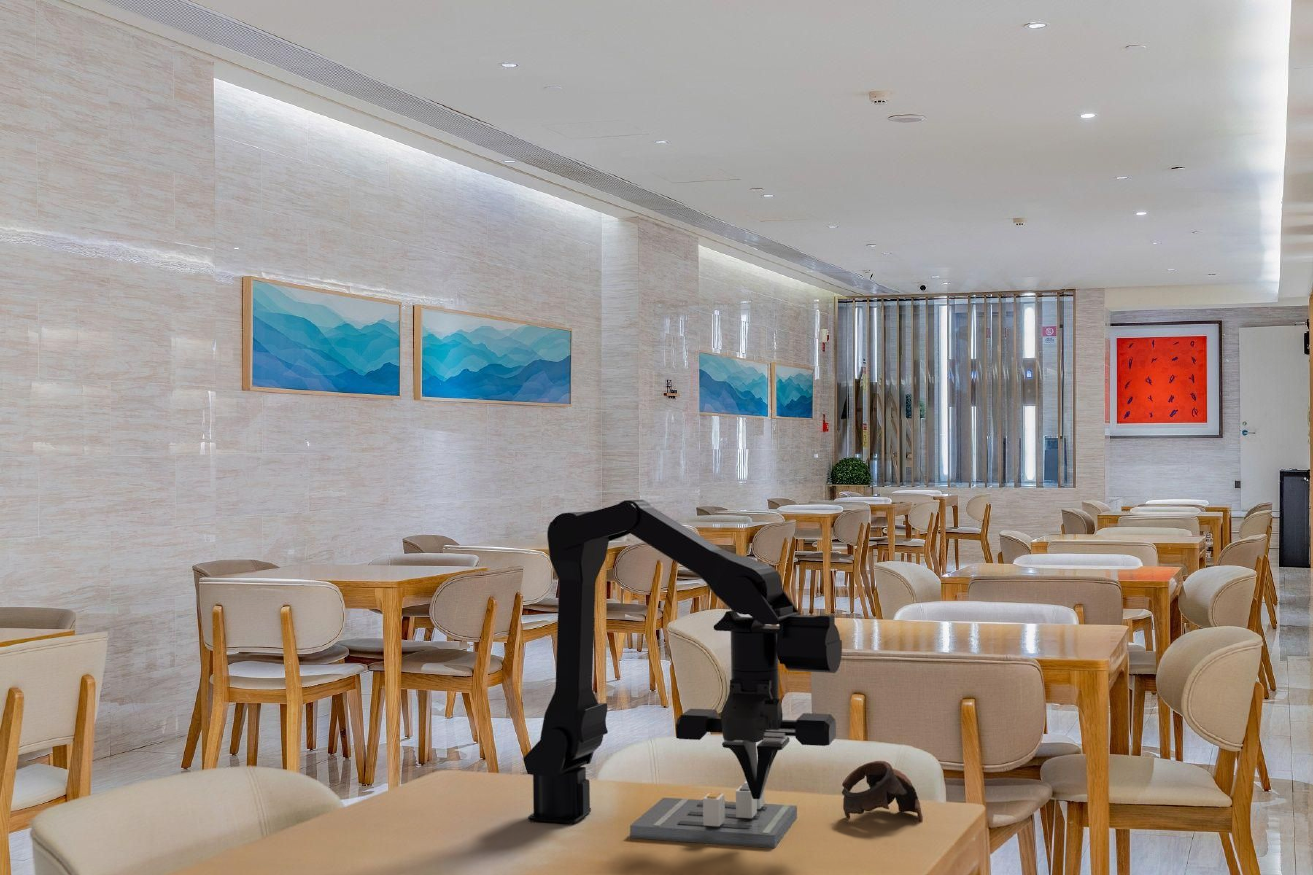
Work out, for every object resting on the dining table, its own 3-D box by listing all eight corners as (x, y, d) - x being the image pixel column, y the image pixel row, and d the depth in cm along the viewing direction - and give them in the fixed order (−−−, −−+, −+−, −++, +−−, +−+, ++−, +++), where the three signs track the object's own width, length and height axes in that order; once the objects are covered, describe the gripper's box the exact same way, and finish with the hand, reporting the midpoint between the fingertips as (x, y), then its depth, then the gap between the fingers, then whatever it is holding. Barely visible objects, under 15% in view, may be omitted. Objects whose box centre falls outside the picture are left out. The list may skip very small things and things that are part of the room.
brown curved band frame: (933, 832, 156) (903, 778, 155) (865, 863, 158) (835, 810, 156) (919, 784, 168) (891, 734, 167) (856, 814, 169) (827, 764, 168)
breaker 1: (703, 825, 153) (702, 796, 153) (709, 819, 155) (708, 791, 155) (719, 826, 152) (718, 797, 152) (725, 820, 155) (724, 792, 155)
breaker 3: (744, 807, 160) (744, 781, 160) (749, 802, 163) (749, 776, 163) (759, 808, 160) (759, 781, 160) (764, 803, 162) (764, 776, 162)
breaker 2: (736, 817, 156) (735, 789, 156) (741, 811, 159) (740, 784, 159) (752, 818, 155) (751, 790, 155) (756, 812, 158) (756, 785, 158)
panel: (630, 837, 154) (630, 824, 154) (663, 808, 167) (663, 796, 168) (774, 847, 149) (774, 834, 149) (797, 817, 162) (796, 804, 162)
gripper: (661, 676, 148) (663, 810, 147) (819, 681, 142) (822, 820, 142) (687, 662, 158) (689, 787, 158) (835, 667, 153) (838, 796, 152)
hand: (757, 798), depth 152 cm, fingers closed
